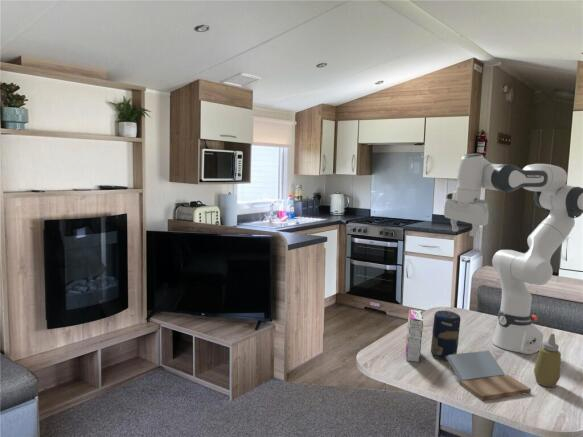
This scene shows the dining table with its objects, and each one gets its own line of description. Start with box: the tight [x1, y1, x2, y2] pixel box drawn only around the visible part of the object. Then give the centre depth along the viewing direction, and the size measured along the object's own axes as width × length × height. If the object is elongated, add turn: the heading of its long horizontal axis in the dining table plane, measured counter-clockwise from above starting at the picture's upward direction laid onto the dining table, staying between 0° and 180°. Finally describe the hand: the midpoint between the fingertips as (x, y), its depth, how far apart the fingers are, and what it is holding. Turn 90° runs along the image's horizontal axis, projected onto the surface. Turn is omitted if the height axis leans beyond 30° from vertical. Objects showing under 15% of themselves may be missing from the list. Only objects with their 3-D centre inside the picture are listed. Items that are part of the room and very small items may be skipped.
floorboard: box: [460, 374, 532, 401], centre depth 157 cm, size 20×10×2 cm, turn 110°
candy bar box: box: [405, 309, 424, 363], centre depth 179 cm, size 11×5×16 cm, turn 168°
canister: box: [430, 310, 462, 361], centre depth 180 cm, size 10×10×18 cm
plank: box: [446, 350, 506, 382], centre depth 166 cm, size 18×10×2 cm
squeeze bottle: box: [533, 333, 562, 388], centre depth 162 cm, size 8×8×18 cm
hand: (463, 233), depth 179 cm, fingers open, 8 cm apart
